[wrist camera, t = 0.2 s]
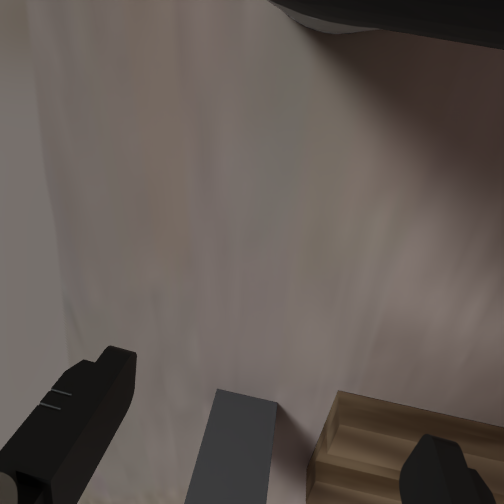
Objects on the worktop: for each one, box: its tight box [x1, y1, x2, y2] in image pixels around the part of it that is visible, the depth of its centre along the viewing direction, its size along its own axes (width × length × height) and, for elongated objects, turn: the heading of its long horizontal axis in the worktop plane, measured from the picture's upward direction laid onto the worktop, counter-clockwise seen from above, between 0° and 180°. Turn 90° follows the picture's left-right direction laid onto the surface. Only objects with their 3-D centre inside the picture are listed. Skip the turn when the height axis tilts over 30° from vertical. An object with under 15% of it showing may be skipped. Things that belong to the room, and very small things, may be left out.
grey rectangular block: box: [184, 389, 277, 504], centre depth 32 cm, size 3×6×14 cm, turn 81°
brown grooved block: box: [306, 391, 504, 504], centre depth 36 cm, size 13×22×4 cm, turn 81°
